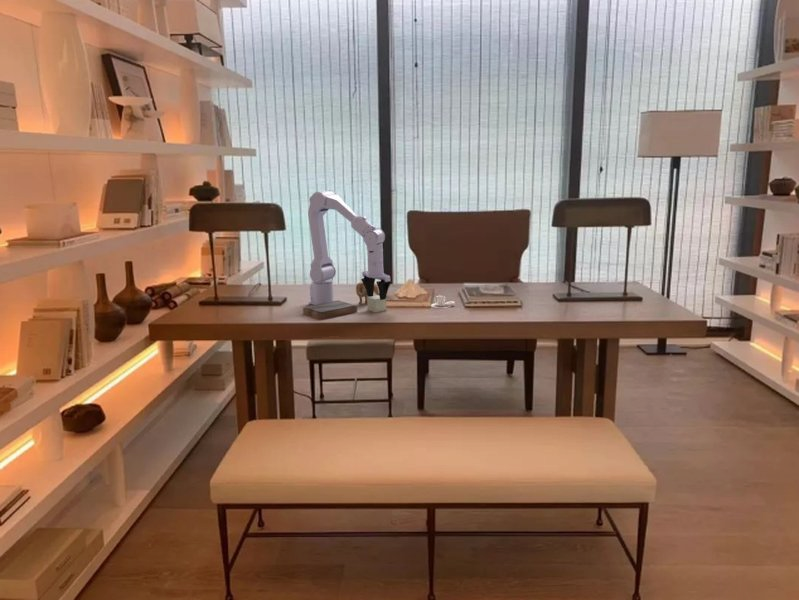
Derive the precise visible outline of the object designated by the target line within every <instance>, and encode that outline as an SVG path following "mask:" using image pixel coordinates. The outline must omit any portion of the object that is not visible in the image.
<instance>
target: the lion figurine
mask: <svg viewBox="0 0 799 600" xmlns="http://www.w3.org/2000/svg"><path fill="white" fill-rule="evenodd" d="M355 292H356V295H357V296H358V298H359V302H358V304H360V305H361V304H363V298H364V304H365V305H367V297H368V295H367V292H366V289H365V286H364V284H363V282H362V281H360V282H358V283H357V284H356V285H355ZM374 294H375V295H379V289H378V285H377V284H375V283H374ZM379 296H380V295H379ZM370 297H371V296H370Z"/></svg>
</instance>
